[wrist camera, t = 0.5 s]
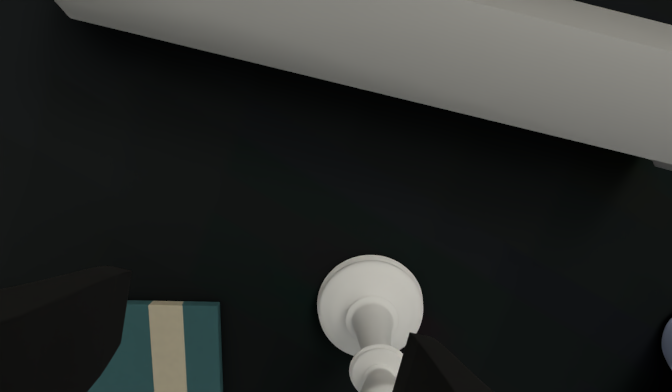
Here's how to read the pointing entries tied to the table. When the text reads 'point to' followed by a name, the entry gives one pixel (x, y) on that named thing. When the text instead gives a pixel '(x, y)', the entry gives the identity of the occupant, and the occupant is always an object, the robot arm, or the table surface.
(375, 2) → the tube
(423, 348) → the robot arm
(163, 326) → the towel
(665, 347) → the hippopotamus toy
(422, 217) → the table surface
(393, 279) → the chess piece
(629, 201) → the table surface
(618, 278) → the table surface
